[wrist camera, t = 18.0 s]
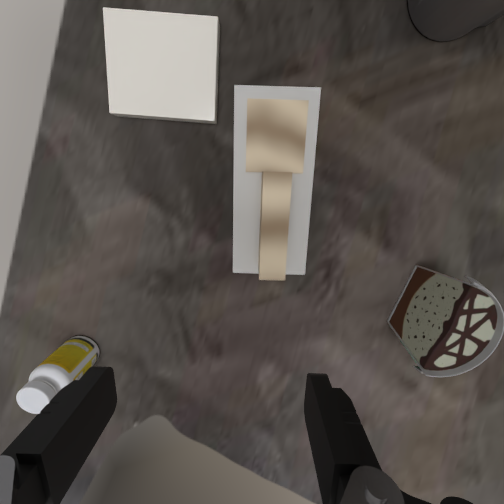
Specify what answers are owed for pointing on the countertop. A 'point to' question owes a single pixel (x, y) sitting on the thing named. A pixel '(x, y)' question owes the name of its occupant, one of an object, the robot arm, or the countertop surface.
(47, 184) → the countertop surface
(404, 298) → the food container
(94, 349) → the supplement bottle
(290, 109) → the turner
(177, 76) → the tile
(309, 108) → the mat
